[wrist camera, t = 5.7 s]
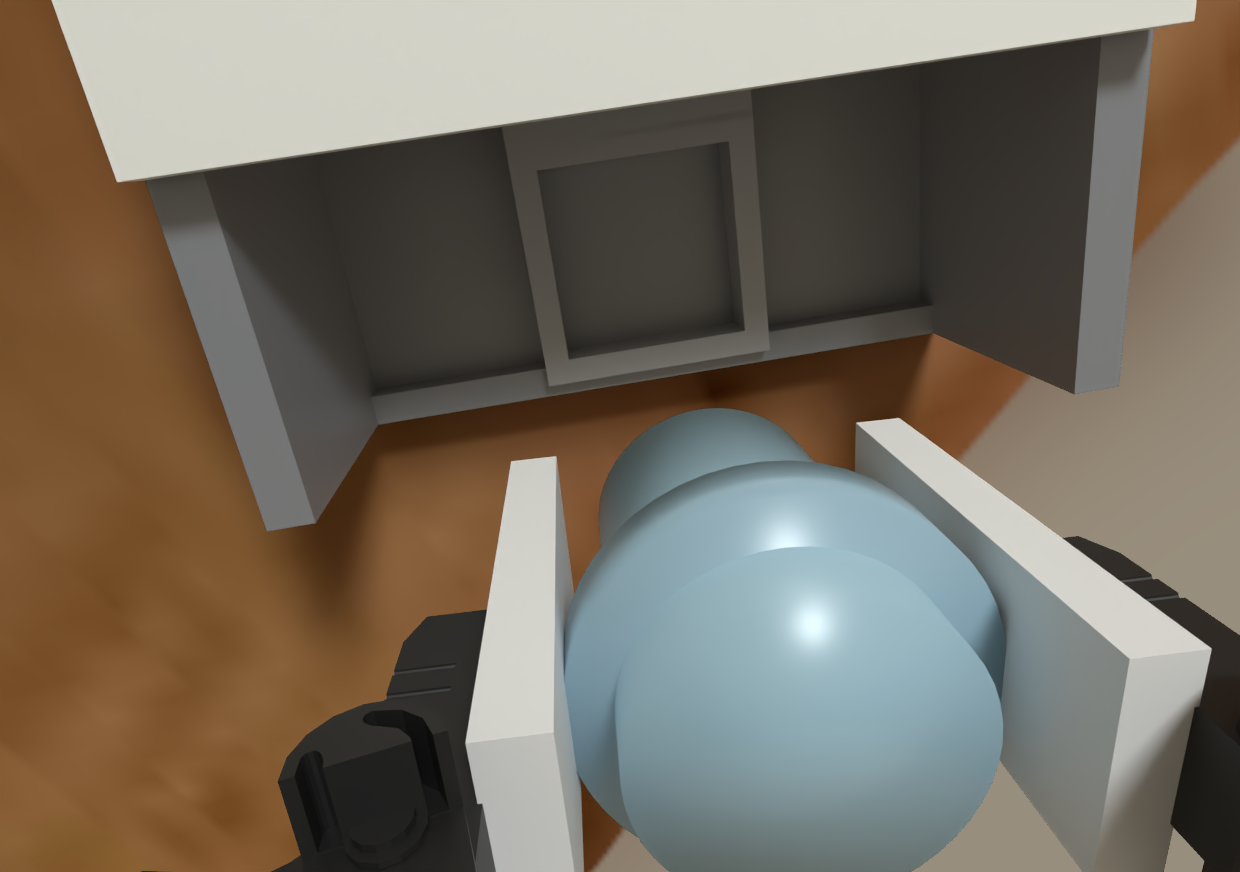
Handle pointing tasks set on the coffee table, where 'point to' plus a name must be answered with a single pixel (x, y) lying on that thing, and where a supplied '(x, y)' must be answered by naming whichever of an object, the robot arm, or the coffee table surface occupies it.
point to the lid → (494, 62)
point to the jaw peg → (778, 659)
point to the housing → (665, 248)
